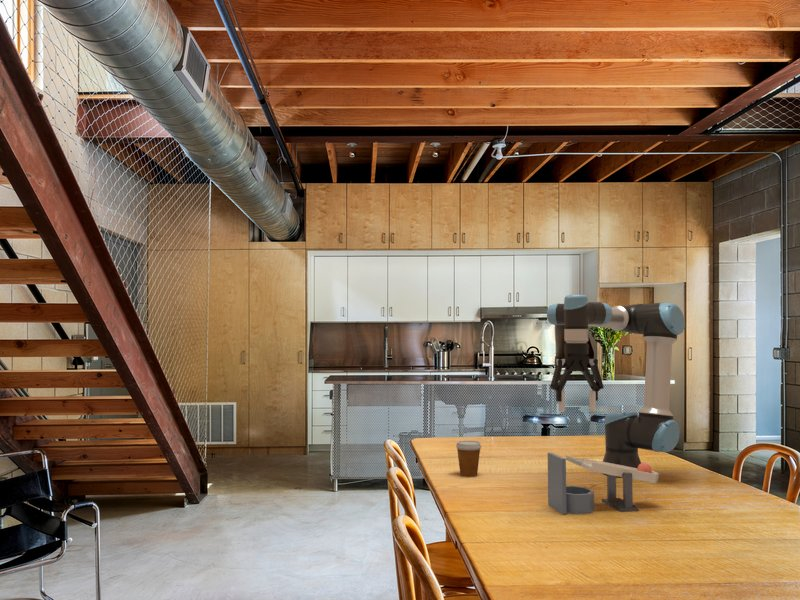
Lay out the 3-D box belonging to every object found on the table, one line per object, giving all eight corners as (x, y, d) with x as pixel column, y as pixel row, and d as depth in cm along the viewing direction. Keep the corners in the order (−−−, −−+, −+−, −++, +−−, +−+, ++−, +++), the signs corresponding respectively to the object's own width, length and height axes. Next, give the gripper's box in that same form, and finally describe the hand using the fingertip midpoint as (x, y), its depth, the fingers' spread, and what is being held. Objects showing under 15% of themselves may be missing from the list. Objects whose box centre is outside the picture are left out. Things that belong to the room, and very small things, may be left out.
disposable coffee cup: (480, 478, 226) (480, 445, 227) (454, 477, 228) (454, 444, 229) (482, 472, 236) (482, 440, 236) (457, 471, 238) (457, 440, 238)
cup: (582, 503, 194) (581, 451, 195) (599, 512, 183) (598, 457, 184) (547, 504, 191) (547, 452, 192) (563, 514, 181) (562, 459, 182)
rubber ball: (644, 476, 195) (648, 463, 195) (651, 479, 191) (655, 466, 191) (633, 472, 194) (637, 459, 194) (640, 474, 190) (644, 462, 190)
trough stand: (619, 501, 196) (618, 465, 197) (638, 510, 185) (638, 473, 186) (601, 501, 195) (601, 466, 196) (620, 511, 184) (619, 474, 185)
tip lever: (625, 472, 206) (627, 461, 207) (657, 485, 189) (659, 473, 189) (565, 460, 203) (567, 449, 203) (592, 472, 185) (594, 460, 186)
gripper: (602, 342, 207) (603, 409, 206) (538, 342, 203) (539, 410, 202) (614, 342, 200) (615, 412, 199) (548, 342, 196) (549, 413, 194)
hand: (577, 411), depth 200 cm, fingers open, 10 cm apart
